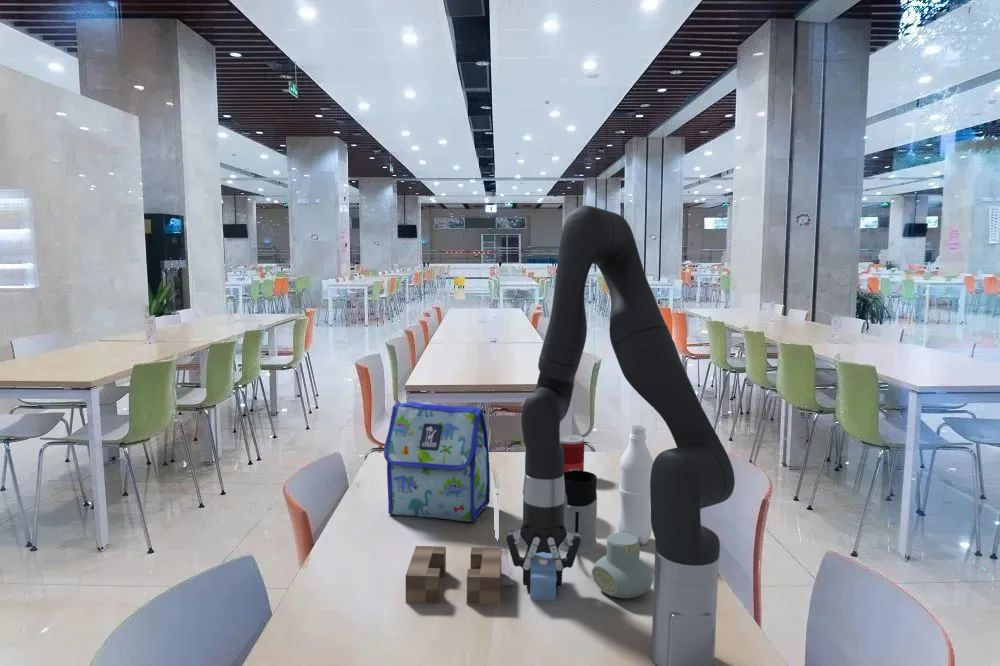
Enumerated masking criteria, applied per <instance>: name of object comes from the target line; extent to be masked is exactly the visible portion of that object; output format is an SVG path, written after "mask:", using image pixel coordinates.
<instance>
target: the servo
mask: <svg viewBox="0 0 1000 666" xmlns="http://www.w3.org/2000/svg"><path fill="white" fill-rule="evenodd" d="M556 582H557V576H556V561H554V560H553V557H552V554H551V553H545V552H541V553H535V556H534V558H533V560H531V565H530V589H529V596H530V598H529V599H531V601H532V600H535V601H536V600H537V601H556V600H557V599H556V598H557V597H556V596H557V592H556V591H557V589H556Z"/></svg>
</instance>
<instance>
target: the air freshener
mask: <svg viewBox="0 0 1000 666" xmlns="http://www.w3.org/2000/svg"><path fill="white" fill-rule="evenodd" d="M606 540H607V541H606V554H605V555H604V556H602V557H600V558H599V559H598V560H597V561H596V562H595V563H594V565H593V566H592V571H591V575H592V579H593V581H594V583H595V584H596V586H597V587H598V588H599V589H600V591H602V592H603V593H605V594H606V595H608V596H610V597H612V598H613V597H614V598H616V599H617V598H618V599H634V598H637V597H639V596H642V595H644V594H645V593H647V592H648V591H649V590H650V588H652V585H653V583H654V573H653V572H652V569H651V568H650V567H649V565H648V564H647V563H646V562H645V561H644V560H643V559H641V558H640V555H641V553H640V551H641V549H640V547H641V543H640V540H639V539H638V538H637V537H636V536H634V535H632V534H628V533H619V532H615V533H612V534H609V536H607V538H606Z"/></svg>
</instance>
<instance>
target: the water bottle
mask: <svg viewBox="0 0 1000 666" xmlns="http://www.w3.org/2000/svg"><path fill="white" fill-rule="evenodd" d="M646 440H647V435H646V426H644V425H638V424H634V425H631V426H630V433H629V443H628V446H627V447H626V449H625V450H624V452H623V454H622V456H621V458H620V462H619V486H618V491H619V496H620V511H619V516H618V520H617V530H618V532H617V533H628V534H632V535H634V536H636V537H637V538H638V539H639V540H640V545H646V544H647V543H648V542H649V540H650V538H651V536H652V533H653V530H652V526H651V500H650V477H651V469H652V465H653V462H654V460H653V456H652V455H651V453H650V450H649V448H648V447H647V444H646Z"/></svg>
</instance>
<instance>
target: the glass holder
mask: <svg viewBox="0 0 1000 666" xmlns="http://www.w3.org/2000/svg"><path fill="white" fill-rule="evenodd" d="M597 477H598V476H597V475H596V474H594V473H593V472H590V471H585V470H584V471H567V472H564V482H565V512H564V526H565V528H566V531H568V532H571V533H575V532H578V533H579V534H580V539H581V542H580V545H579V548H578V551H577V554H576V555H582V554H590V553H593V552H595V551H596V550H597V549H598V548H599V543H598V542H597V515H598V513H597V512H598V511H597V510H598V507H597V506H598V495H597V481H598V480H597ZM568 548H569V544H568V539H567V538H565V539H564V541H563V542H562V543H561V544H560V546H559V547H558V549H559V550H561V551H563V552H566V553H567V552H568Z"/></svg>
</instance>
